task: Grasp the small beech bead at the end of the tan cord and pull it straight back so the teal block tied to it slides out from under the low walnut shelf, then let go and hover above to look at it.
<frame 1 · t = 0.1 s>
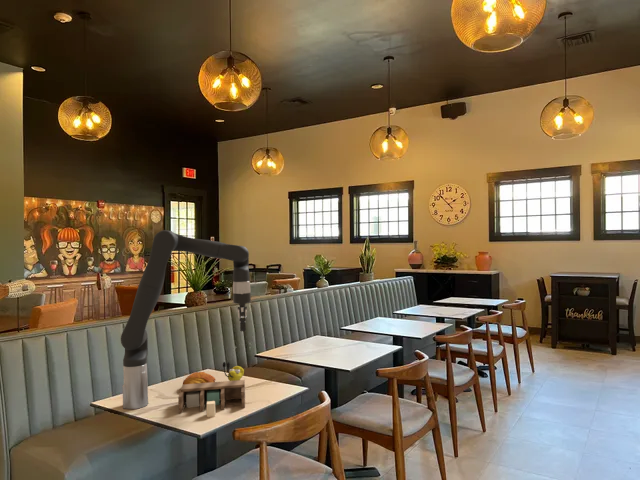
hand: (242, 329, 202), 29 cm above the table, tool pointing down, fingers open, 8 cm apart
lane shelf: (213, 405, 192), on the table
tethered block: (213, 403, 195), on the table
plain block: (193, 405, 194), resting in lane shelf
toy: (234, 390, 211), on the table
croissant: (199, 388, 217), on the table
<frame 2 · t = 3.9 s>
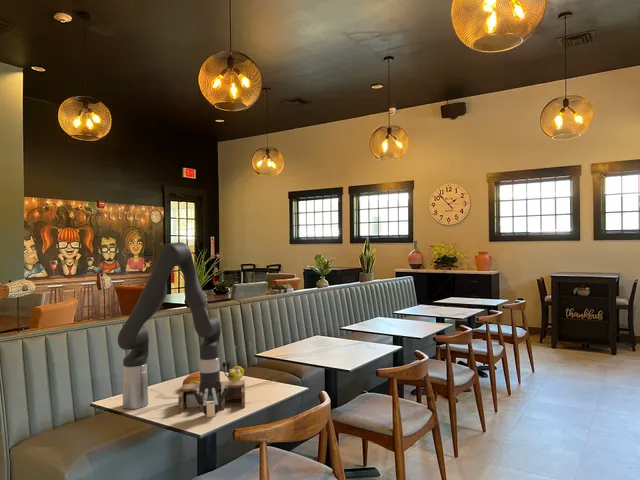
hand: (211, 413, 182), 1 cm above the table, tool pointing down, fingers closed on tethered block, 3 cm apart
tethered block: (213, 403, 195), on the table, touching gripper
everything else where it was.
when the fingers open (1 cm above the table, at t = 8.2 s): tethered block stays where it is, on the table.
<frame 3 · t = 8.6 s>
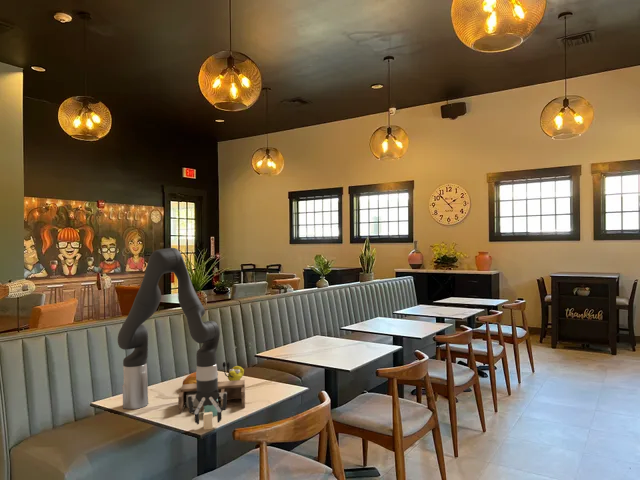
hand: (208, 422, 170), 2 cm above the table, tool pointing down, fingers open, 6 cm apart
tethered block: (211, 413, 183), on the table
everything else where it was.
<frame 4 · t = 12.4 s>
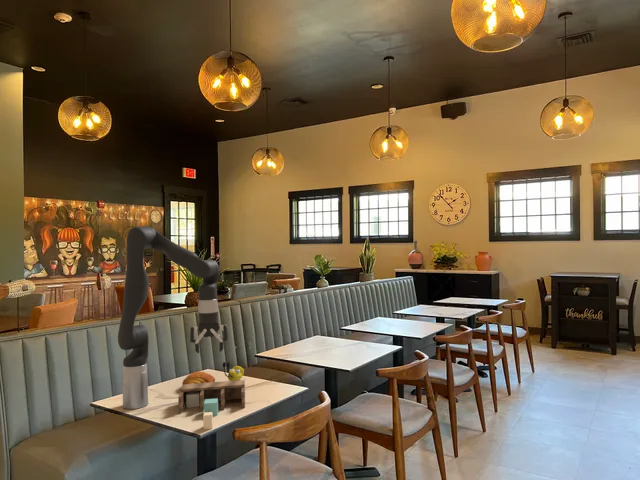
hand: (209, 352, 184), 24 cm above the table, tool pointing down, fingers open, 8 cm apart
nothing on the table moved.
at the end: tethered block inside the target area (1.4 cm from its centre), on the table; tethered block tilted 0°; the gripper is holding nothing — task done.
